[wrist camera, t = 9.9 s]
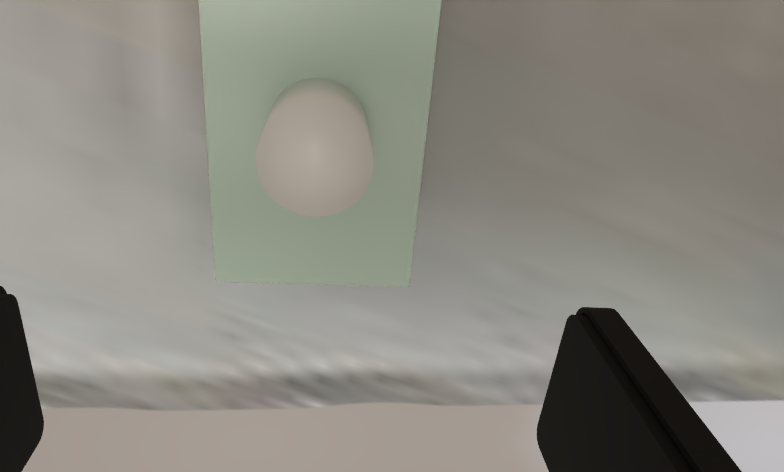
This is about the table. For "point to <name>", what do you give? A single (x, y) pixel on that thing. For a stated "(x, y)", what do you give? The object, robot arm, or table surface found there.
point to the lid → (316, 136)
